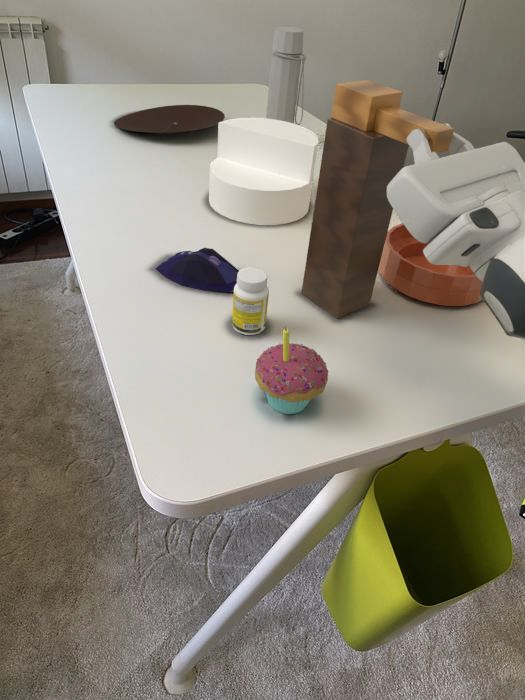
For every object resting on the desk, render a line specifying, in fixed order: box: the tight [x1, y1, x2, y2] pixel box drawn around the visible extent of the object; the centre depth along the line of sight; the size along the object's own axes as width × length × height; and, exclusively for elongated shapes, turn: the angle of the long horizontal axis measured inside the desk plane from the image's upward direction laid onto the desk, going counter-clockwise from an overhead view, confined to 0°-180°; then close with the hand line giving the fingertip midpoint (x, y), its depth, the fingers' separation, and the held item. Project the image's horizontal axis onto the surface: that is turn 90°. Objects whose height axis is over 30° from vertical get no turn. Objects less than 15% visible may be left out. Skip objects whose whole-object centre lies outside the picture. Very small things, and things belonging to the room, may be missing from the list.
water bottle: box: [265, 26, 307, 126], centre depth 132 cm, size 9×8×25 cm
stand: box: [301, 117, 410, 320], centre depth 76 cm, size 8×7×26 cm
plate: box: [113, 104, 226, 135], centre depth 140 cm, size 28×28×4 cm
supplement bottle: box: [231, 266, 270, 336], centre depth 75 cm, size 5×5×8 cm
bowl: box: [378, 222, 483, 307], centre depth 90 cm, size 18×18×6 cm
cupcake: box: [254, 324, 329, 415], centre depth 63 cm, size 9×8×12 cm
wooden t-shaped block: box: [330, 79, 455, 155], centre depth 65 cm, size 15×6×4 cm, turn 39°
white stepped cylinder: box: [208, 117, 319, 226], centre depth 106 cm, size 20×20×13 cm
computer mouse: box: [155, 247, 240, 294], centre depth 86 cm, size 9×15×4 cm, turn 65°
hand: (426, 130), depth 62 cm, fingers closed on wooden t-shaped block, 3 cm apart
